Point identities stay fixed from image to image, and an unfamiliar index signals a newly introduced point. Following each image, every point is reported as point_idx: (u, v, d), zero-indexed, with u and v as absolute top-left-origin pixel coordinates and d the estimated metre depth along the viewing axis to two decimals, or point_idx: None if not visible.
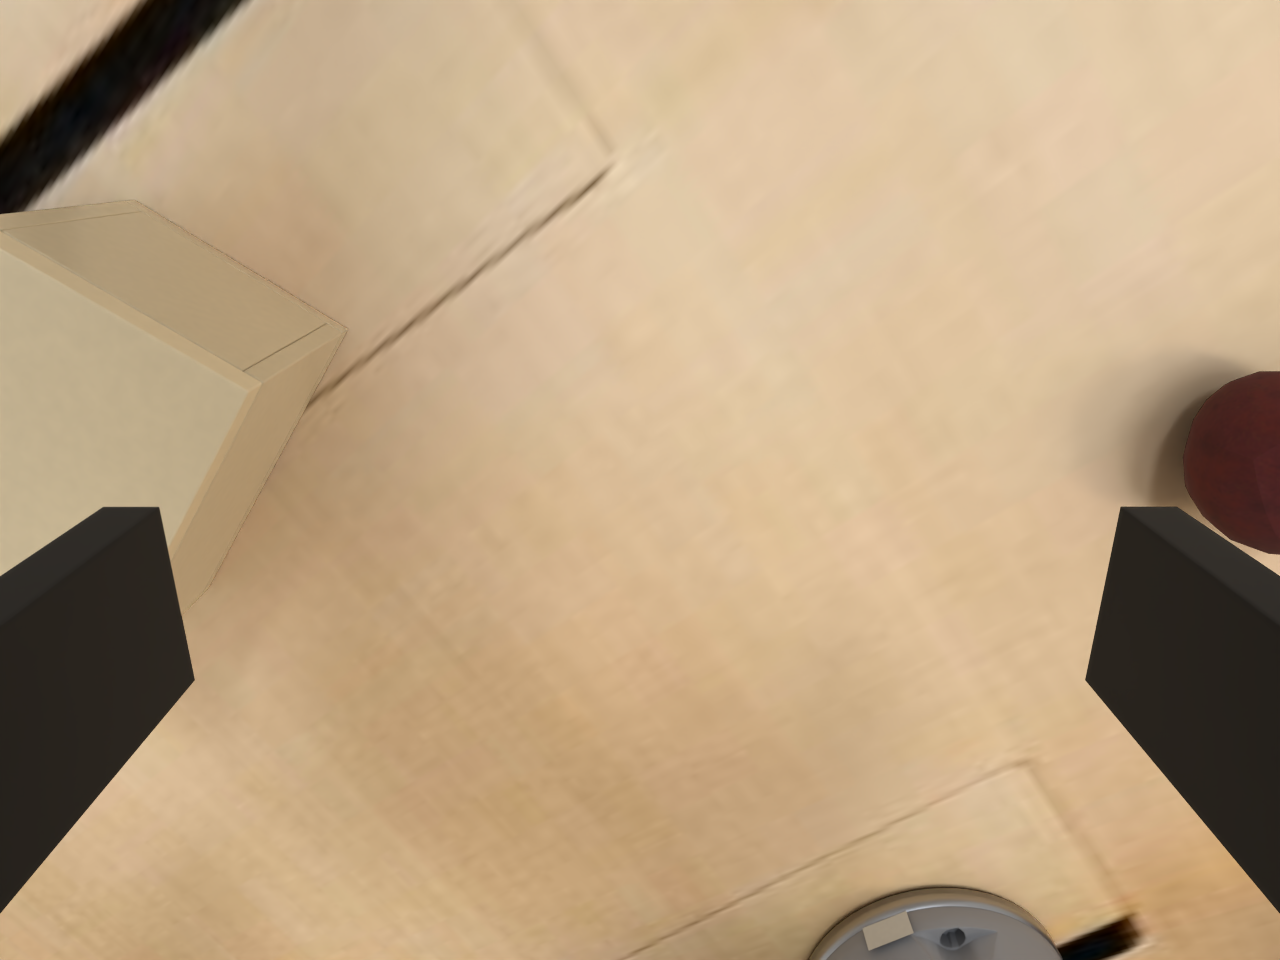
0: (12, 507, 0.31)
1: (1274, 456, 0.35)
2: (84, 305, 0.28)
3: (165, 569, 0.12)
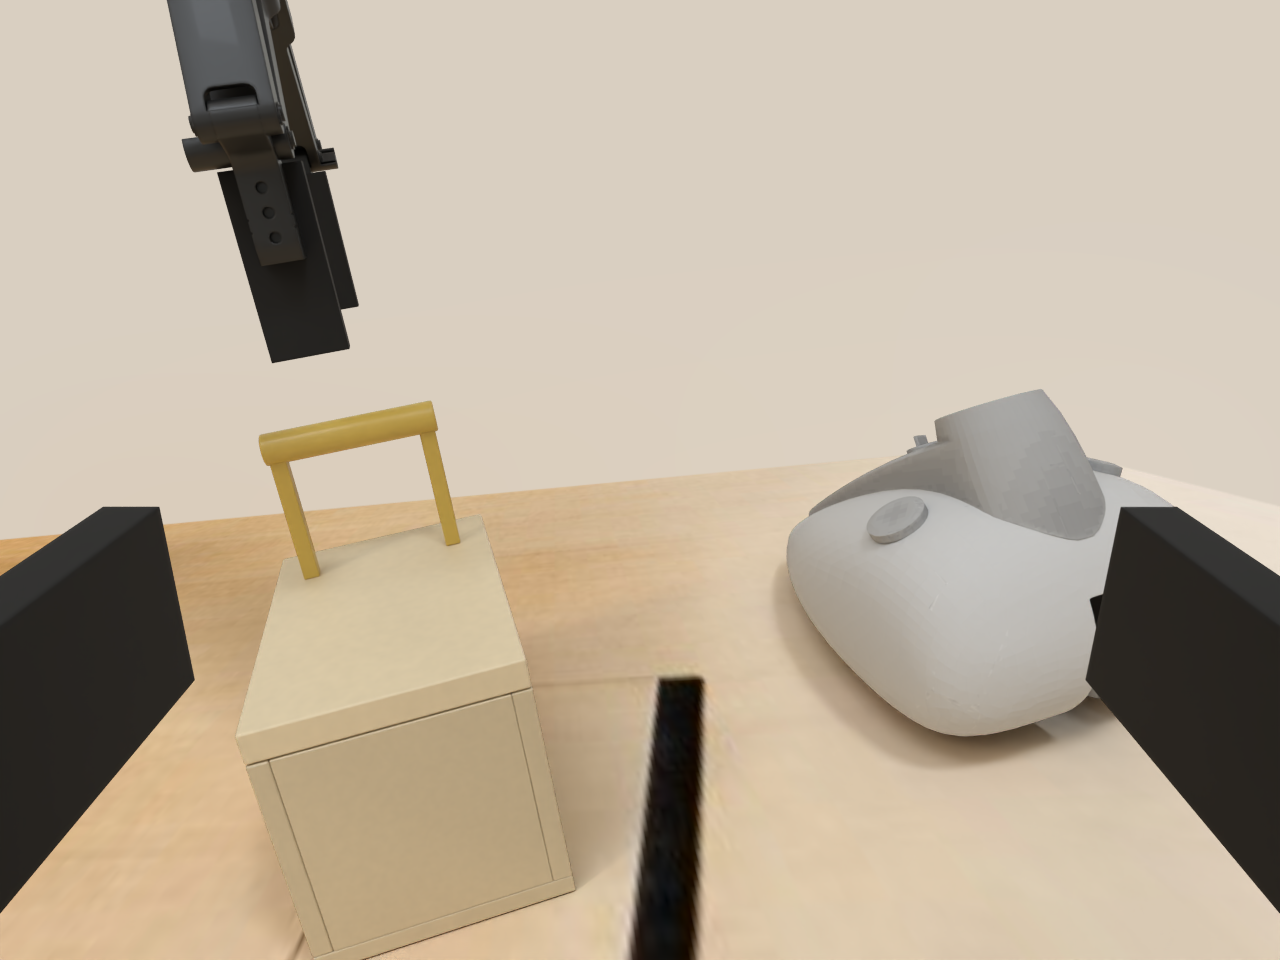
0: (387, 597, 0.38)
1: None
2: (400, 688, 0.31)
3: (166, 569, 0.12)
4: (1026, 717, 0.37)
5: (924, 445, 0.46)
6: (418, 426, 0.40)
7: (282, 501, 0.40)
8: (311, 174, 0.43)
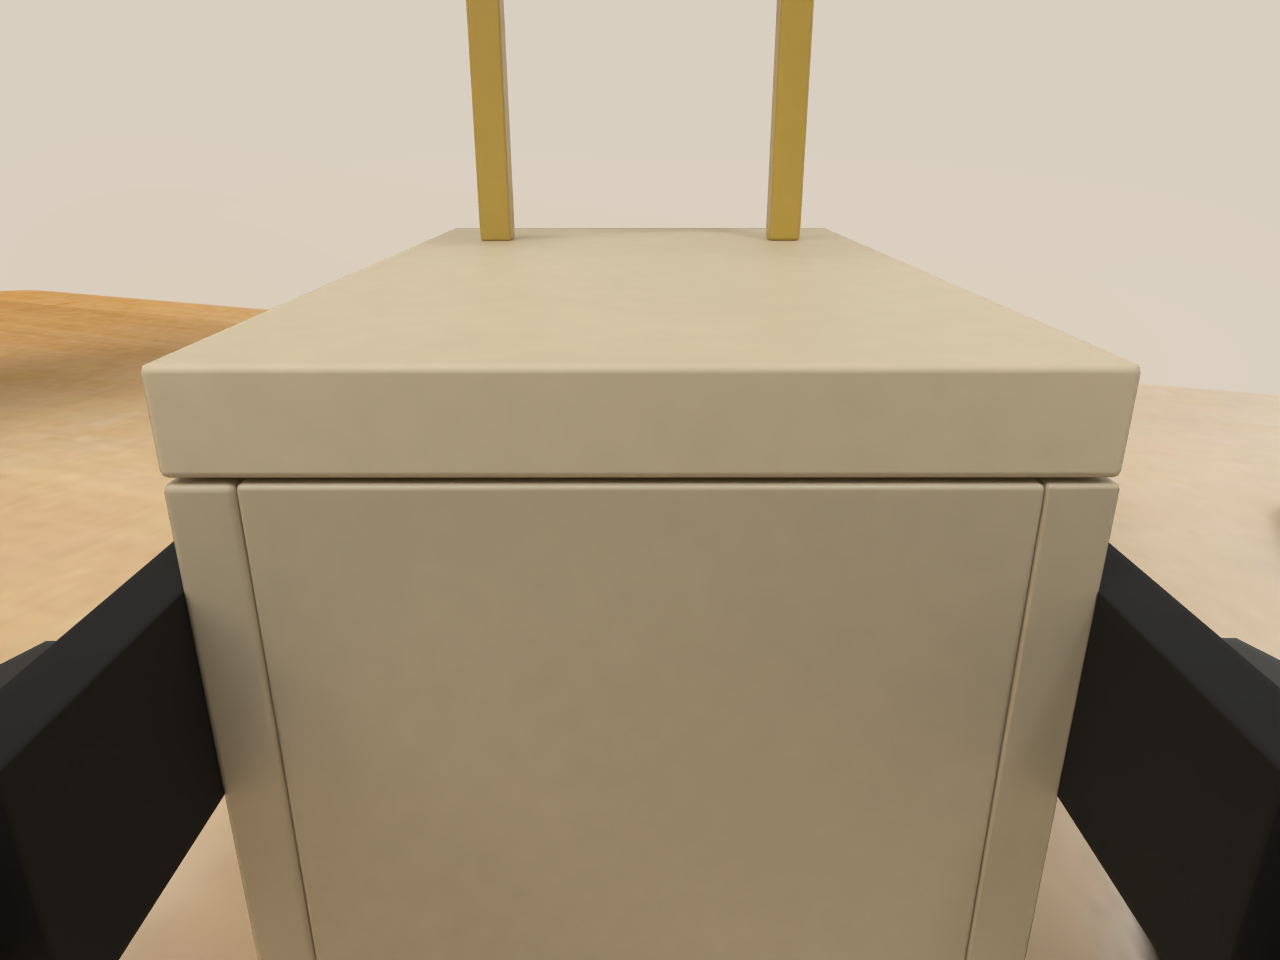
0: (646, 262, 0.16)
1: None
2: (695, 358, 0.09)
3: None
4: None
5: None
6: None
7: (472, 49, 0.19)
8: None
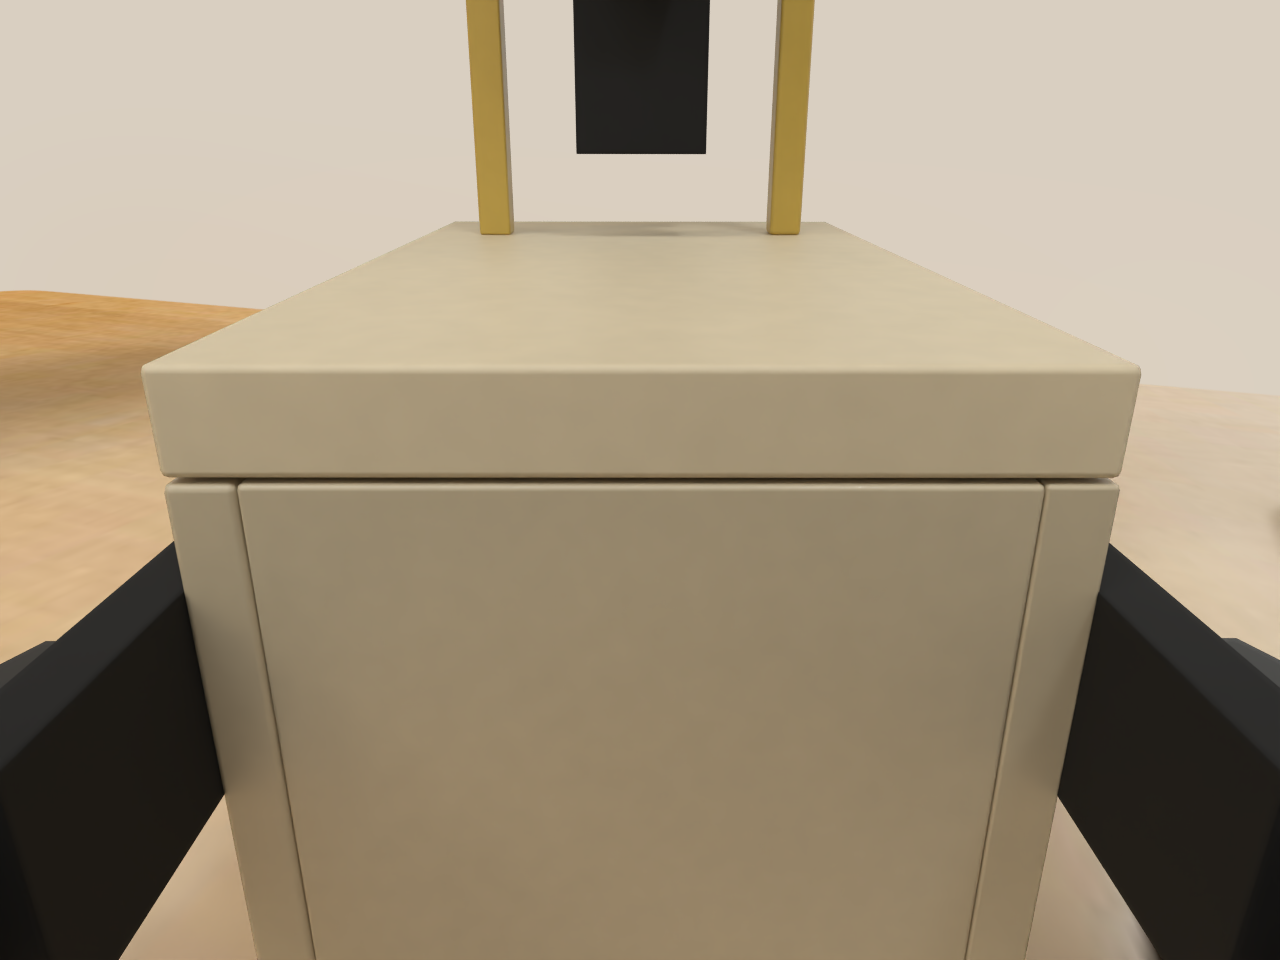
0: (646, 258, 0.16)
1: None
2: (696, 358, 0.09)
3: None
4: None
5: None
6: None
7: (471, 42, 0.19)
8: None
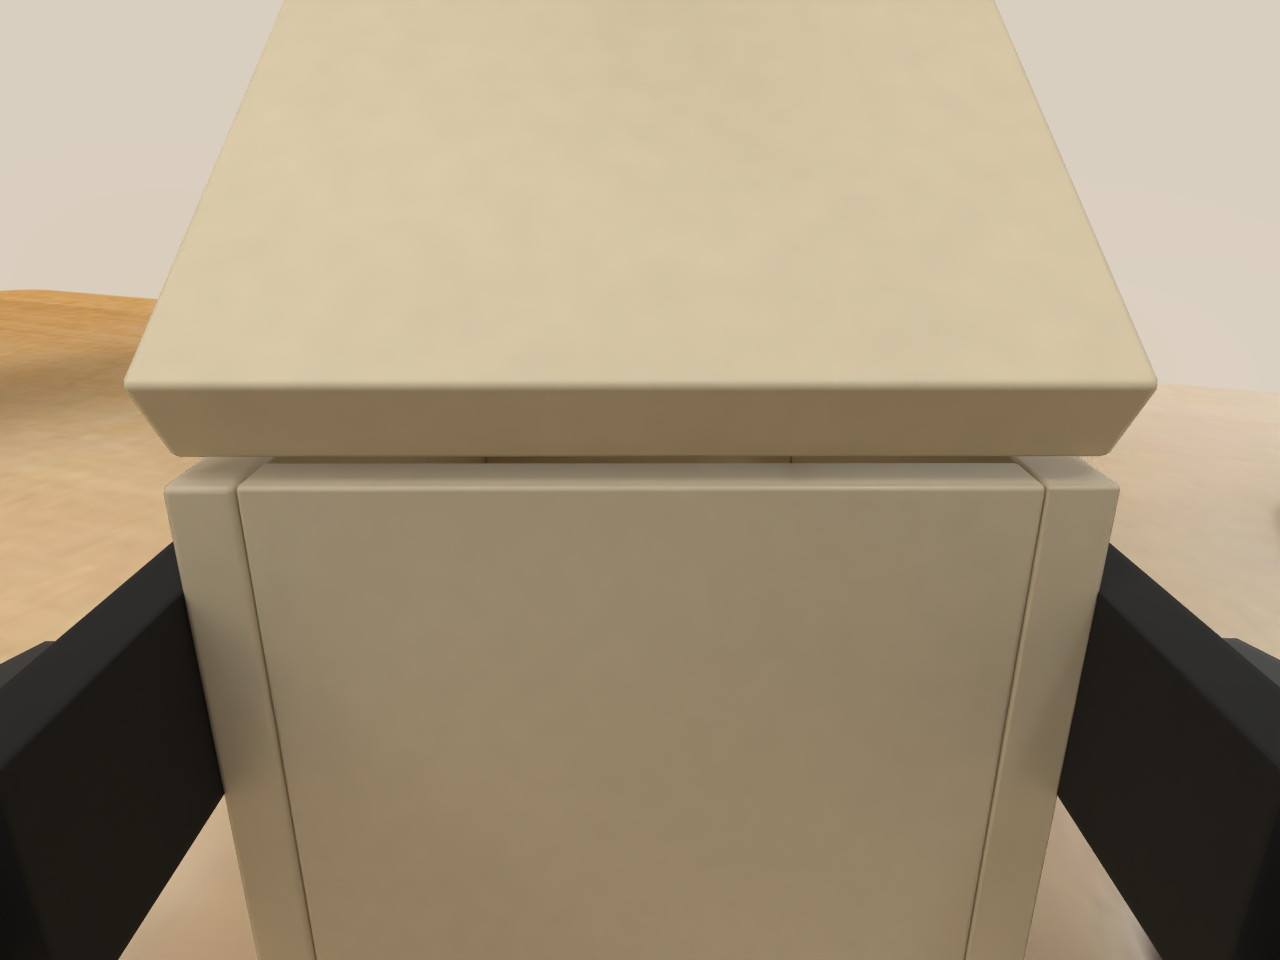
0: None
1: None
2: (698, 365, 0.09)
3: None
4: None
5: None
6: None
7: None
8: None
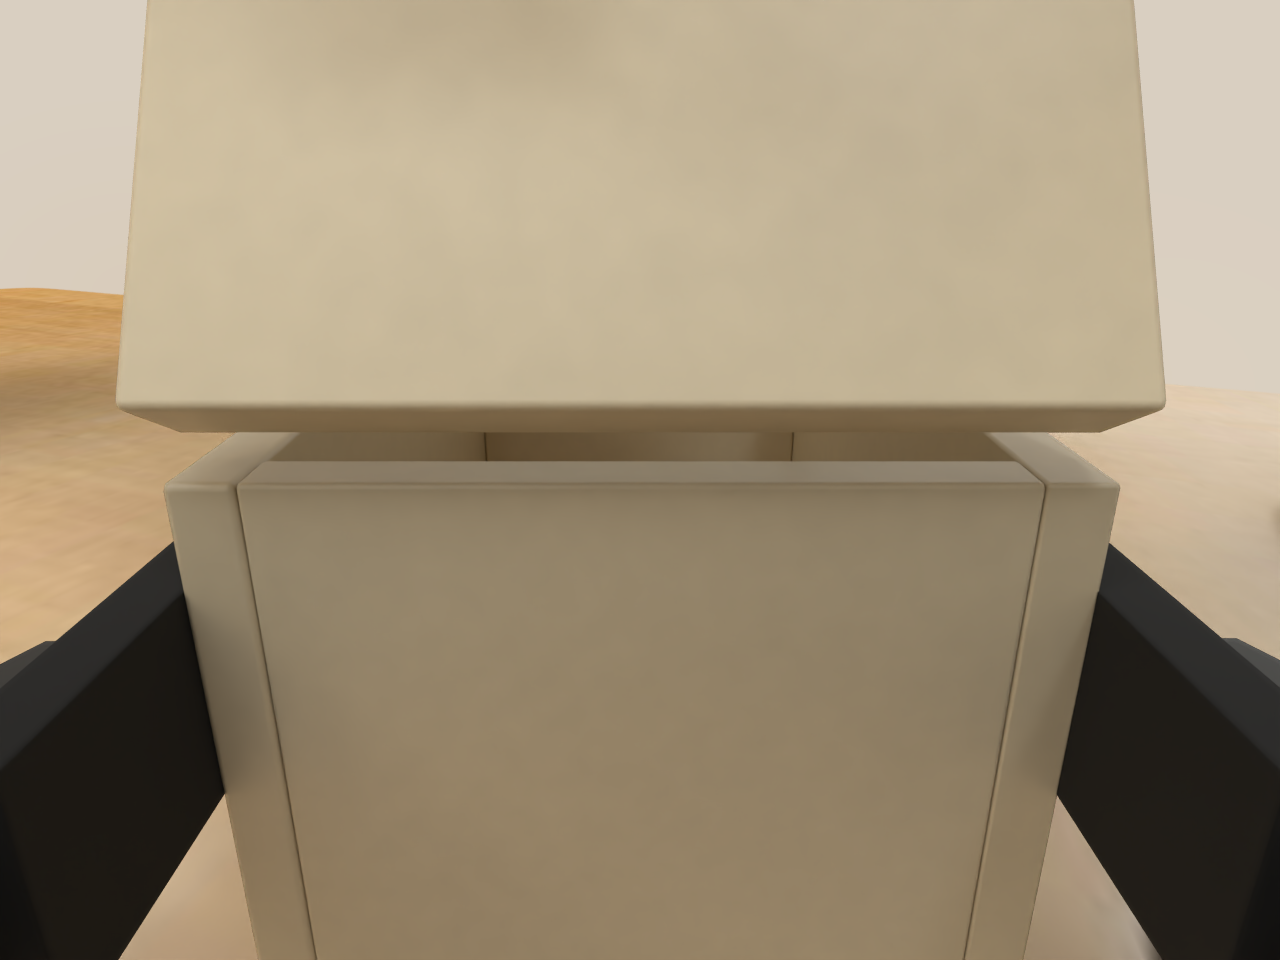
0: None
1: None
2: (700, 383, 0.08)
3: None
4: None
5: None
6: None
7: None
8: None
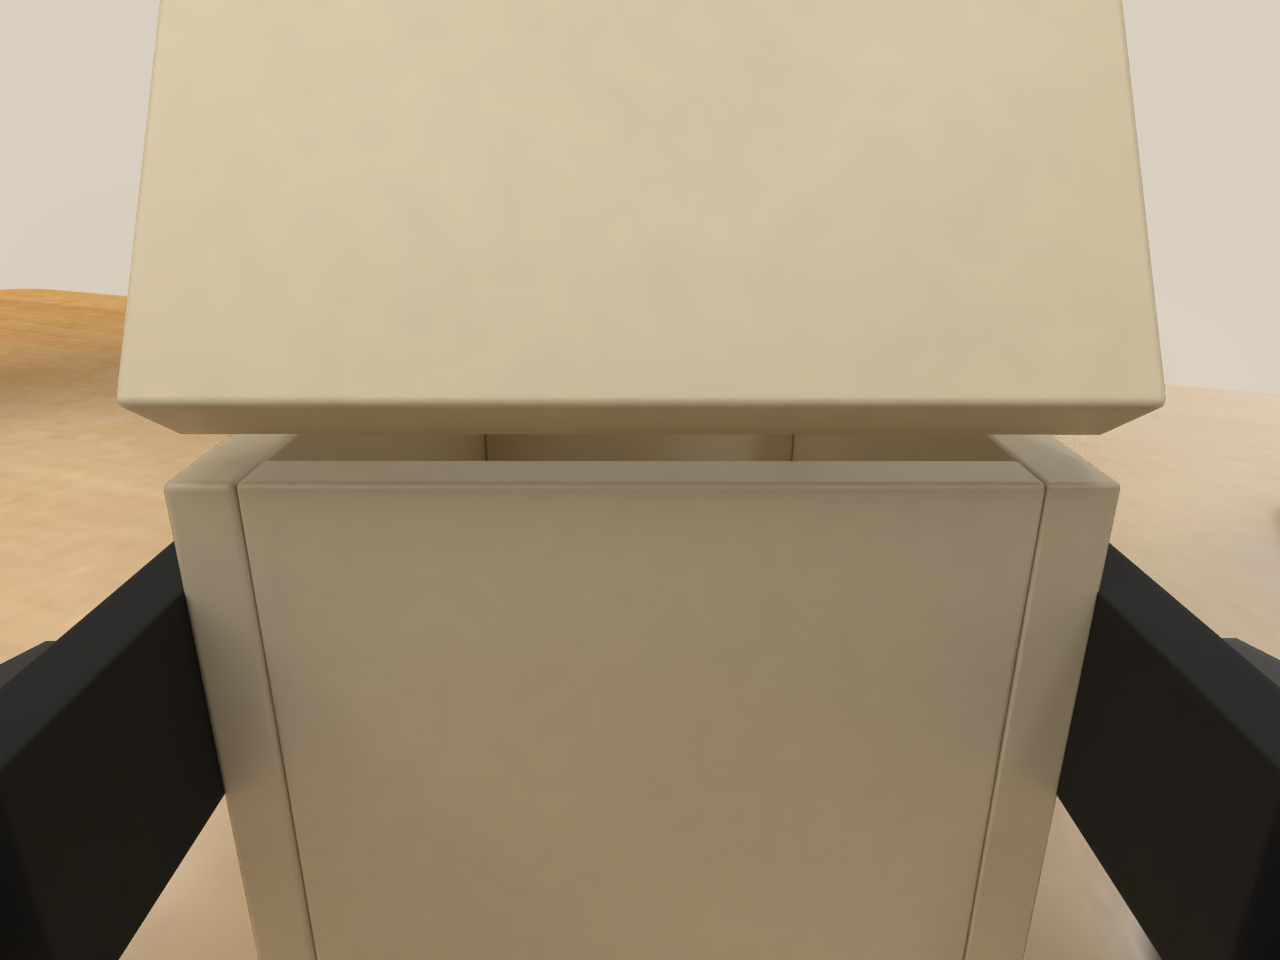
0: None
1: None
2: (700, 380, 0.08)
3: None
4: None
5: None
6: None
7: None
8: None
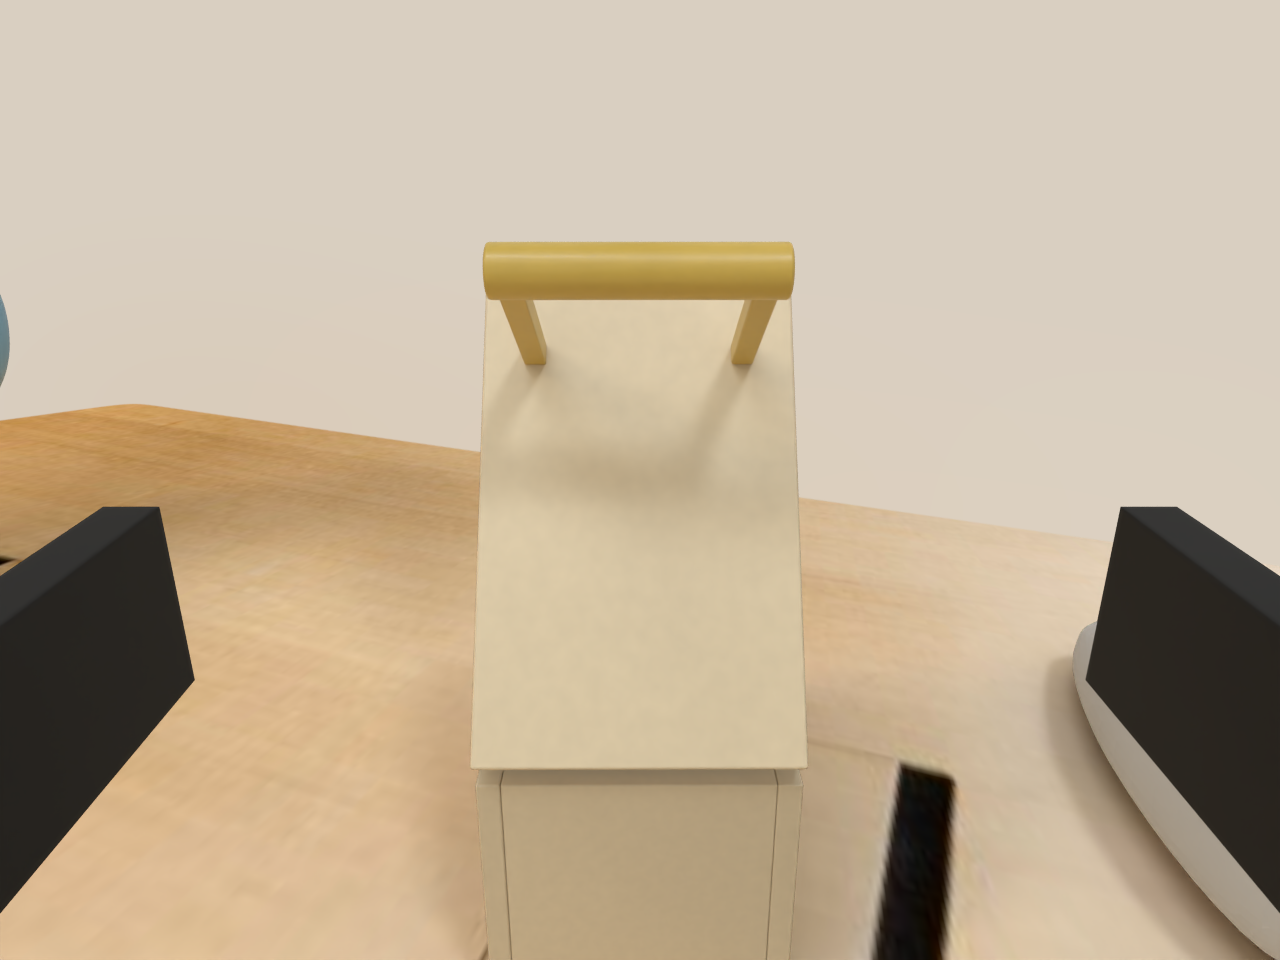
0: (642, 493, 0.28)
1: None
2: (657, 761, 0.26)
3: (165, 569, 0.12)
4: None
5: None
6: (757, 299, 0.22)
7: (509, 320, 0.25)
8: None
